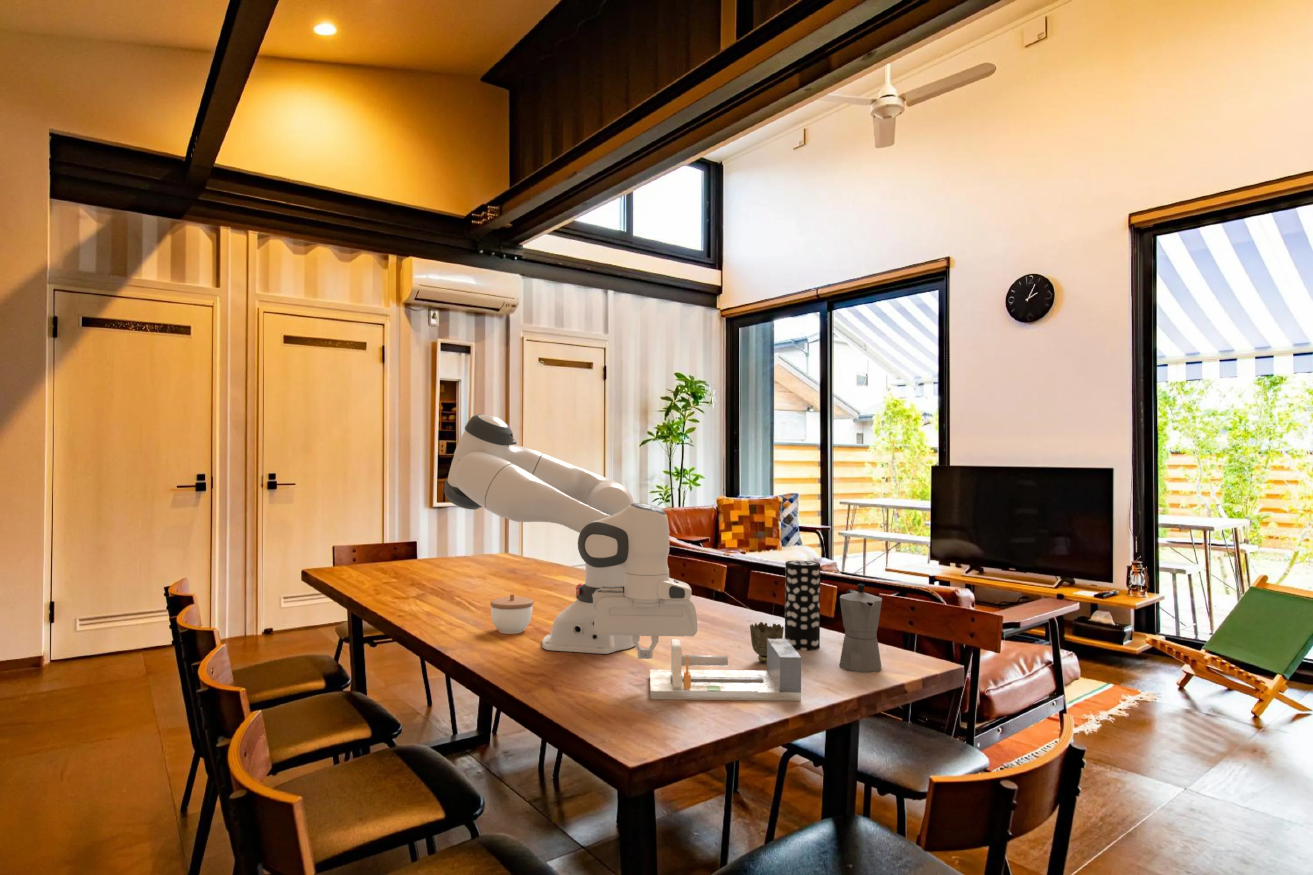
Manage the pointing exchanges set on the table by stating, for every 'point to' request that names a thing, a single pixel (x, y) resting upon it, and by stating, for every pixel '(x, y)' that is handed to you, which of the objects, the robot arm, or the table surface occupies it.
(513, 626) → the lidded jar
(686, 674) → the orange t-shaped block
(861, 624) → the coffeepot
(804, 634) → the spotted tube
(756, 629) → the cup
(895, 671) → the table surface
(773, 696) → the gauge base
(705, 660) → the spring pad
